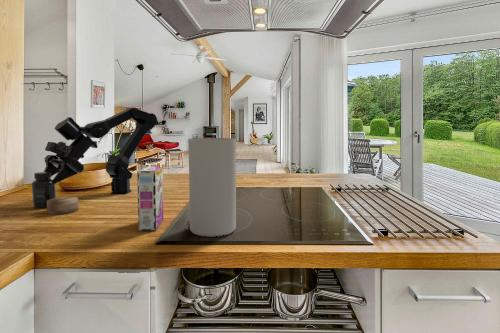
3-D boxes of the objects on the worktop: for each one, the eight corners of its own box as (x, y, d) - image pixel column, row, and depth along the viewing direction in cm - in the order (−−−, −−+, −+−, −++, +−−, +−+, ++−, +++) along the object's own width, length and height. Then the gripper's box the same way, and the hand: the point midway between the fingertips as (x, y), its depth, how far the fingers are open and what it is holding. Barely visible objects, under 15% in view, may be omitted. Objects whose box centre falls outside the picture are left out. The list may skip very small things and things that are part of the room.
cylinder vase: (236, 237, 81) (236, 139, 78) (187, 238, 80) (185, 139, 77) (235, 222, 93) (235, 138, 90) (192, 223, 92) (191, 137, 89)
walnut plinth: (83, 208, 109) (83, 196, 109) (70, 214, 100) (69, 201, 100) (57, 208, 109) (56, 196, 108) (41, 215, 100) (40, 202, 99)
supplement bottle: (61, 205, 113) (58, 171, 111) (43, 209, 106) (40, 174, 105) (47, 203, 115) (44, 170, 113) (28, 207, 108) (25, 173, 107)
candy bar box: (157, 231, 85) (155, 171, 83) (138, 231, 85) (135, 171, 83) (164, 219, 96) (163, 166, 94) (148, 219, 96) (146, 166, 94)
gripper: (48, 133, 118) (16, 165, 110) (73, 134, 107) (39, 169, 100) (71, 153, 125) (42, 184, 118) (96, 155, 115) (66, 190, 107)
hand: (46, 181), depth 110 cm, fingers open, 9 cm apart
